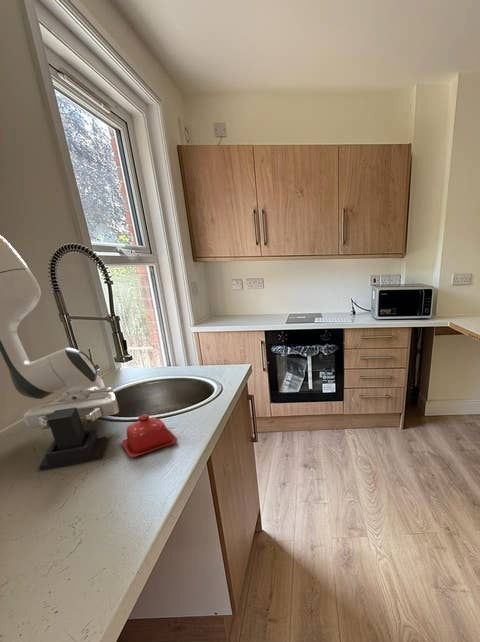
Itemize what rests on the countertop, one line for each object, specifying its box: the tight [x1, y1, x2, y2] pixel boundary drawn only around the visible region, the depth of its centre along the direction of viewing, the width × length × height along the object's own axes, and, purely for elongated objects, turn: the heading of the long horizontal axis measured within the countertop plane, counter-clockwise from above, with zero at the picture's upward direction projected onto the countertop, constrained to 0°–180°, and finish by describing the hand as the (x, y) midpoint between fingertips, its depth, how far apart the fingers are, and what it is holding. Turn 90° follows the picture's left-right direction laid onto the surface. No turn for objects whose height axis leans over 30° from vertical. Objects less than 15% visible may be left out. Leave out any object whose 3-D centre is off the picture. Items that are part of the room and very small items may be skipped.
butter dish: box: [121, 414, 178, 458], centre depth 88 cm, size 12×12×8 cm
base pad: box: [38, 429, 108, 471], centre depth 85 cm, size 12×10×4 cm
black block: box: [48, 407, 87, 451], centre depth 84 cm, size 4×6×10 cm
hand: (67, 422), depth 84 cm, fingers open, 8 cm apart
